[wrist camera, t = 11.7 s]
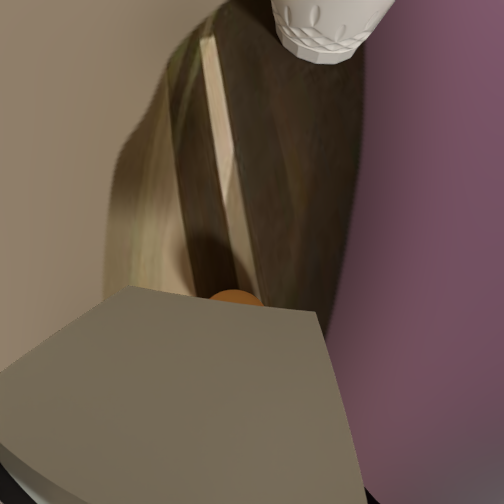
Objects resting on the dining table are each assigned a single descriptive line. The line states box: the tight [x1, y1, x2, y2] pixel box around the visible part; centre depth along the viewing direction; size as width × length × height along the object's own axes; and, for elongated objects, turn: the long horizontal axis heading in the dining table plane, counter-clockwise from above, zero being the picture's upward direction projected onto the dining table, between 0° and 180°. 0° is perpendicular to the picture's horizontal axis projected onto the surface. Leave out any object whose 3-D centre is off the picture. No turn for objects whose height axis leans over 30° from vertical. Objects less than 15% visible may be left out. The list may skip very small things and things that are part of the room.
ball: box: [210, 290, 264, 306], centre depth 19 cm, size 5×5×5 cm
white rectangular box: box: [0, 285, 368, 504], centre depth 7 cm, size 8×8×9 cm
